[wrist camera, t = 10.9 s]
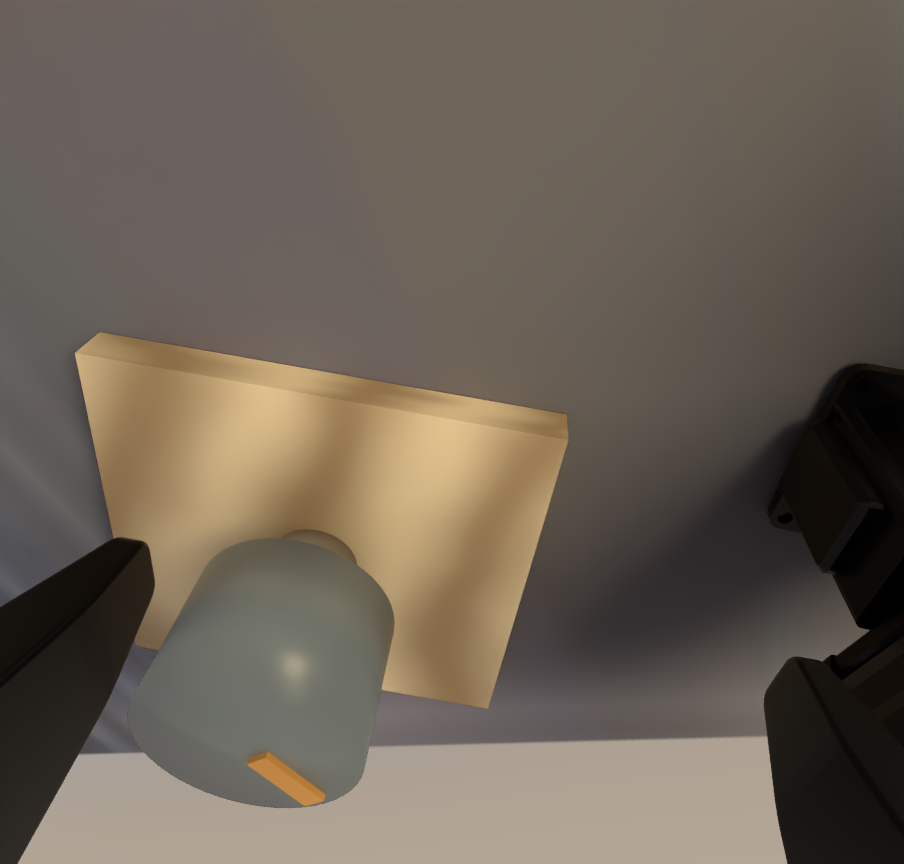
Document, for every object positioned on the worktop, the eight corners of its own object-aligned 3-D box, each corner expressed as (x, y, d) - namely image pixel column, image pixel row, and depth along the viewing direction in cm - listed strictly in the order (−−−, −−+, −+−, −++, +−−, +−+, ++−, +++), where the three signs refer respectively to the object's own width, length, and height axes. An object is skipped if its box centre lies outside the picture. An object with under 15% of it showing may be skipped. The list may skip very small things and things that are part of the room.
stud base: (566, 414, 23) (571, 485, 19) (489, 679, 31) (484, 758, 28) (100, 331, 23) (30, 389, 20) (151, 619, 31) (109, 691, 28)
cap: (158, 583, 24) (74, 719, 19) (303, 508, 21) (242, 646, 17) (291, 692, 26) (244, 831, 22) (434, 639, 24) (412, 785, 19)
